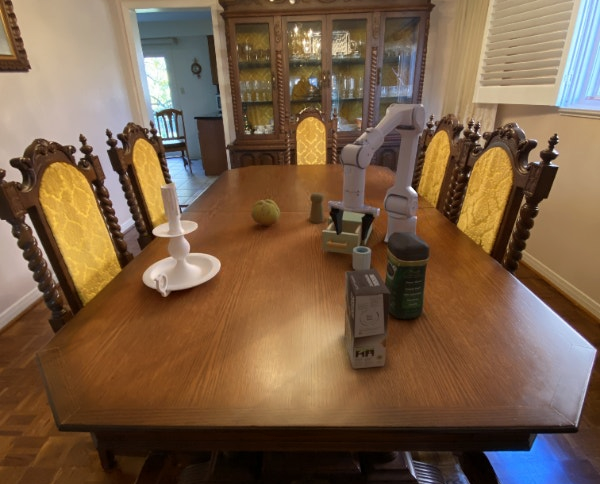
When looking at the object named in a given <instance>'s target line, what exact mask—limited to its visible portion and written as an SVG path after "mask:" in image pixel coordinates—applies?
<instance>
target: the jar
mask: <svg viewBox="0 0 600 484" xmlns="http://www.w3.org/2000/svg"><path fill="white" fill-rule="evenodd" d="M371 258H372V249H371V248H369V247H367V246H362V245H359V247H355V248H354V249H353V255H352V264H351V265H352V269H353V270H354V271H355V270H363V269H371V260H372V259H371Z"/></svg>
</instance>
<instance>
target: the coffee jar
mask: <svg viewBox="0 0 600 484" xmlns="http://www.w3.org/2000/svg"><path fill="white" fill-rule="evenodd" d="M386 254H387V255H386V270H385V280H384V283H385V285H386V287H387V288H388V290H389V292H390V302H389V314H390V315H392V317H394V318H396V319H402V320H413V319H417V318H419V317H421V316H422V314H423V309H424V298H425V297H424V296H425V283H426V275H427V274H426V273H427V267H428V263H429V260H430V245H429V244H428V243H427V242H426V241H425V240H424V239H423V238H421V237H420V236H418V235H417V234H416V235H415V234H413V233H411V232H410V231H405V232H394V233H393V234H392V235H391V236H390V237H389V239H388V243H387V244H386Z"/></svg>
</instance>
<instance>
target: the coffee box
mask: <svg viewBox="0 0 600 484" xmlns="http://www.w3.org/2000/svg"><path fill="white" fill-rule="evenodd" d="M344 285H345V286H344V287H345V288H344V289H345V291H344V294H345V295H344V337H343V338H344V342H345V345H346V350H347V352H348V356H349V359H350V363H351V366H352V369H366V368H376V367H377V368H378V367H384V366H385V363H386V352H387V340H388V339H387V337H388V327H389V314H390V312H389V302H390V292H389V290H388V288H387V287H386V285H385V281H384V280H383V279H382V277H381V275H380V273H379V271H378V270H377V269H376V268H370V269H363V270H355V269H354V270H346V271H345V284H344Z"/></svg>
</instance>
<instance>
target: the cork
mask: <svg viewBox="0 0 600 484" xmlns="http://www.w3.org/2000/svg"><path fill="white" fill-rule="evenodd" d="M324 197H325V196H324V194H323V193H322V192H313V193H311V195H310V197H309V198H310V201H311V206H310V214H309V222H311V223H313V224H314V223H315V224H320V223H324V222H325V221H326V220H325V213H324V204H323V201H324V200H325V198H324Z"/></svg>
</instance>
